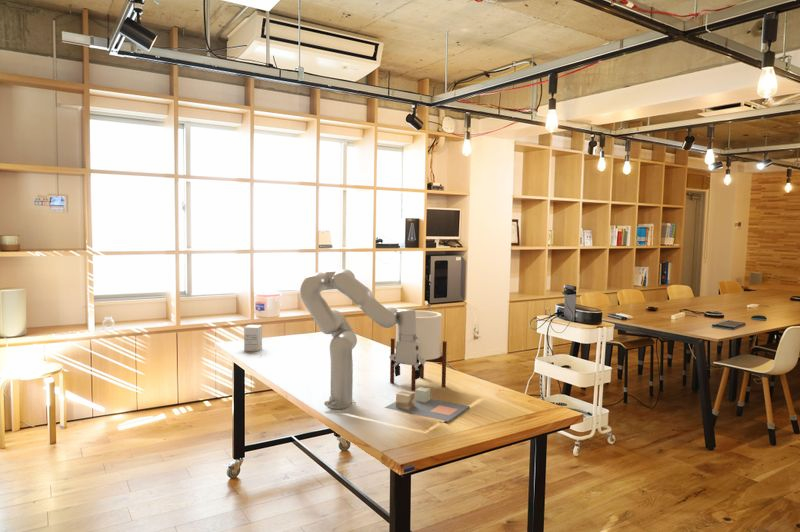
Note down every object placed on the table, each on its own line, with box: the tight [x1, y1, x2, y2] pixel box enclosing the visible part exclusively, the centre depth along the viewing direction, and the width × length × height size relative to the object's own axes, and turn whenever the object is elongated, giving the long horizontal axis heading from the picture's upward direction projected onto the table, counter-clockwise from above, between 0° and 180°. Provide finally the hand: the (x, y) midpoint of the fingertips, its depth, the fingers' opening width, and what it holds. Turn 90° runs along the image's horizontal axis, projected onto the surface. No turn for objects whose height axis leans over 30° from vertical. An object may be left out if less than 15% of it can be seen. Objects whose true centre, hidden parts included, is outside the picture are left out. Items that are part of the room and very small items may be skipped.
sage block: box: [414, 386, 431, 403], centre depth 244 cm, size 5×5×5 cm
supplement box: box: [243, 324, 263, 352], centre depth 342 cm, size 9×9×15 cm
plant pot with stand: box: [389, 309, 448, 392], centre depth 270 cm, size 22×22×36 cm
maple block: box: [395, 389, 415, 410], centre depth 235 cm, size 6×6×6 cm
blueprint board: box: [384, 398, 471, 424], centre depth 235 cm, size 22×30×1 cm
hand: (407, 377), depth 234 cm, fingers open, 9 cm apart
